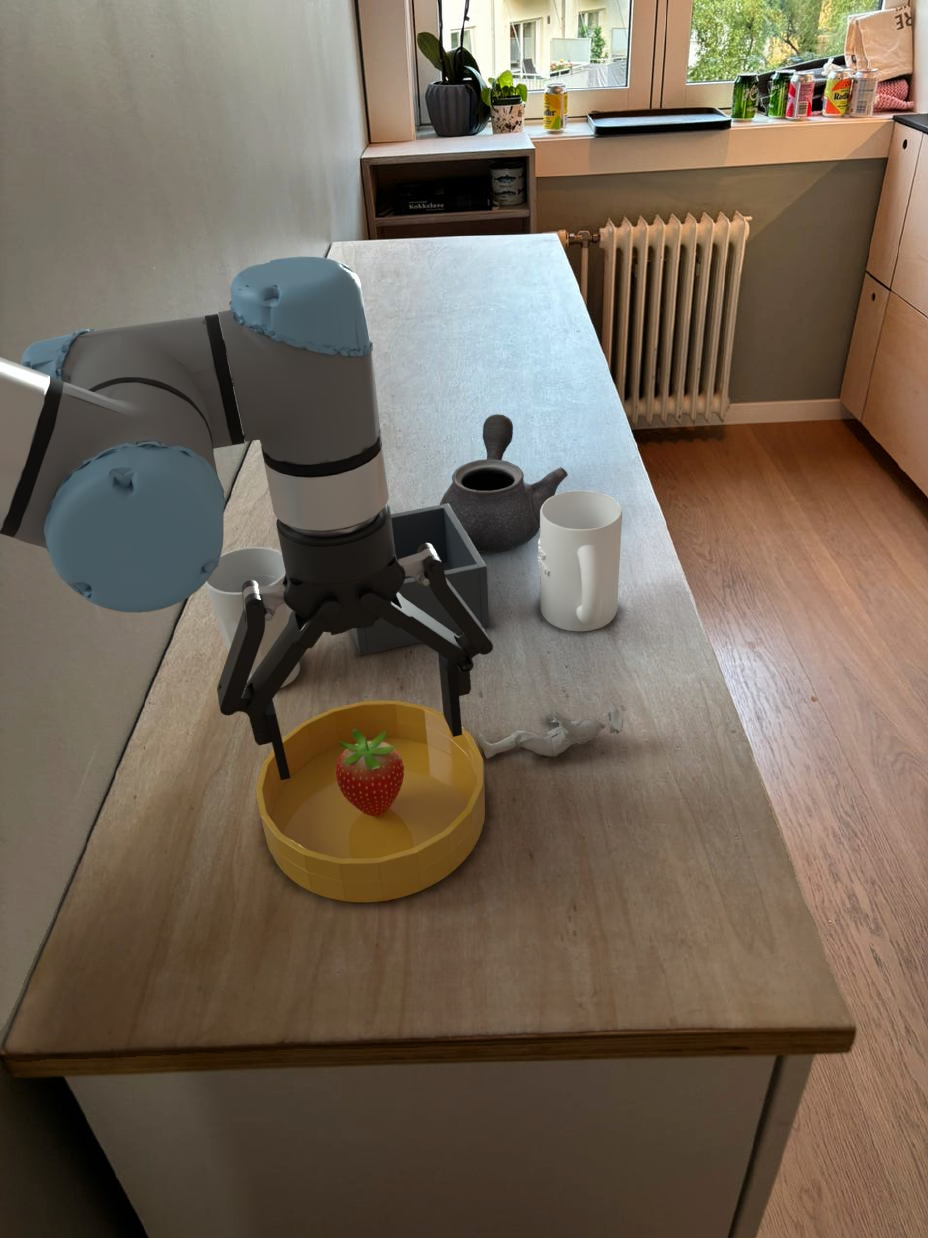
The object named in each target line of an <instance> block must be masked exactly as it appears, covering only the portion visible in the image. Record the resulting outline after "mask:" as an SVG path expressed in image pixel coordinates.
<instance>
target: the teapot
mask: <svg viewBox="0 0 928 1238" xmlns="http://www.w3.org/2000/svg"><path fill="white" fill-rule="evenodd" d="M513 435H514V424H513V421H512V420H511V418H509V417H508V416H506V415H505V414H500V413H499V414H498V413H495V414H491V415H489V416H488V417H486V418H485V420H484V422H483V424H482V440H483V444H484V447H485V450H486V459H478V460H472V461H470V462H467V463H465V464H462V465H460V466H459V467H458V468H456V469H455V470H454V471H453V473H452V476H451V481H452V483H451V484H450V485H449V486H448V488H447V489H446V491H445V493H444V494H443V496H442V498H441V500H440V502H439V505H442V504H449V505H450V507H451V509H452V510H453V512H454V514H455V515H456V517H457V518H458V520H459V522H460V523H461V525H462V527H463V528H464V530H465V532H466V533H467V535H468V537H469V538H470V540H471V541H472V543H473V545H474V546H475V548H476V550H477V551H478V553H479V552H480V553H492V552H493V553H494V552H503V551H504V552H505V551H507V550H511V549H515V548H518V547H521V546H523V545H525V544H527V543H528V542H529V541H531V540H532V539H533V538H534V537H535V536H536V535H537V534H538V532H540V510H541V507H542V505H543V504H544V502H545V501H546V500H547V499H549V498H550V497H552V496H554V495H556V493H557V490H558V487H559V485H560V484H561V483H562V482H563V481H564V480H565V479H566V478H567V477H569V474H568V471H567V470H565V469H564V468H563V467H561V466H559V467H558V468H555V469H553V470H552V471H550V472H549V473H548V474H546V475H545V476H544V477H542V478H541V479H540V480H539V481H536V482H533V483H527V482H525V480H524V479H525V473H524V472H523V470H522V468H520V467H519V466H518V465H516V464H514V463H512V462H510V461H507V460H503V456H504V454H505V452H506V451H507V449H508V447H509V446H510V445H511V443H512V441H513Z"/></svg>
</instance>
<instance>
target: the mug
mask: <svg viewBox="0 0 928 1238" xmlns="http://www.w3.org/2000/svg"><path fill="white" fill-rule="evenodd" d="M622 523H623V509H622V506H621V505H620V503H619V502H618V501H617V500H616V499H615V498H613V497H612V496H611V495H607V494H605V493H602V492H598V491H595V490H585V489H584V490H583V489H581V490H580V489H579V490H577V489H575V490H567V491H563V492H559V493H557V494H555V495H554V496H552V497H550V498H549V499H547V500H546V501H545V502H544V504H543V505H542V507H541V510H540V529H539V538H538V541H537V567H538V568H539V585H540V588H539V590H540V592H539V593H540V595H539V596H540V597H539V598H540V599H539V600H540V601H539V602H540V606H539V608H540V613H541V615H542V616H543V618H544V619H545V620H546V622H548V623H549V624H550V625H552V626H554V627H556V628H558V629H561V630H564V631H569V632H588V631H589V632H590V631H591V632H592V631H595V630H598V629H601V628H603V627H605V626H607V625H608V624H610V623H611V622H612V621H613V620H614V619H615V616H616V615H617V612H618V598H619V583H620V581H619V580H620V562H621V546H622V545H621V543H622V526H623V524H622Z"/></svg>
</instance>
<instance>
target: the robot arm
mask: <svg viewBox="0 0 928 1238" xmlns="http://www.w3.org/2000/svg"><path fill="white" fill-rule="evenodd" d="M235 275H236V276H235V277H234V278H233V279H232V281H231V283H230V299H231V300H230V301H229V308H230V309H228V310H227V309H226V310H222V311H218V313H214V314H206V315H200V316H192V317H185V318H184V317H183V318H178V319H169V320H162V321H155V322H148V323H140V324H133V325H127V326H117V327H111V328H103V329H96V328H82V329H79V330H77V331H74V332H73V333H70V334H66V335H61V336H57V337H52V338H48V339H42V340H38V341H35V342H33V343H31V344H30V345H29V346H28V347H27V348H26V349H25V350H24V352H23V354H22V357H21V359H20V363H17V362H15V361H12V360H9V359H6V358H4V357H1V356H0V535H2V536H6V537H9V538H13V539H15V540H18V541H21V542H23V543H26V544H29V545H34V546H37V547H41V548H44V549H46V551H47V552H48V554H49V558H50V562H51V563H52V566H53V567H54V570H55V572H56V573H57V574H58V576H59V578H60V579H61V580H62V581H63V582H64V583H65V584H67V585H68V586H69V587H70V588H71V589H72V590H73V591H74V592H76V593H77V594H79V595H80V596H81V597H83V598H84V599H85V600H86V601H87V602H89V603H91V604H93V605H95V606H98V607H101V608H104V609H106V610H111V611H115V612H122V613H130V614H131V613H133V614H134V613H138V614H139V613H150V612H155V611H160V610H163V609H167V608H170V607H172V606H173V607H174V606H175V605H177V604H180V603H182V602H183V601H185V600H187V599H188V598H190V597H192V596H193V595H194V594H196V593H197V592H198V591H199V590H200V589H201V588H202V587H203V586H204V584H205V583H206V581H207V580H208V579H209V577H210V576H211V574H212V573H213V571H214V569H215V568H216V567H217V566H218V563H219V559H220V556H221V555H222V552H223V546H224V535H225V533H224V529H225V527H224V523H225V522H224V520H225V519H224V518H225V517H224V515H225V514H224V510H225V507H226V499H225V489H224V487H223V484H222V481H221V480H220V478H219V477H220V476H219V474H218V469H217V464H216V458H215V454H214V452H215V451H214V450H215V449H220V448H226V447H232V446H237V445H244V444H246V443H247V442H248V443H249V442H254V441H259V442H260V448H261V453H262V459H263V464H264V469H265V474H266V480H267V485H268V490H269V495H270V500H271V505H272V511H273V514H274V516H275V517H276V531H277V535H278V540H279V546H280V552H282V557H283V562H284V567H285V578H284V580H283V583H282V584H280V585H271V586H262V587H259V584H258V583H257V582H256V581H254V580H248V581H246V582H244V583H243V585H242V598H243V612H242V615H241V618H240V621H239V624H238V627H237V630H236V633H235V636H234V639H233V642H232V645H231V648H230V651H229V654H228V653H227V656H226V660H225V663H224V665H223V669H222V672H221V675H220V678H219V681H218V684H217V687H216V692H217V698H218V706H219V711H220V713H221V714H222V715H223V716H232V715H234V714H235V713H238V712H239V713H245V714H246V715H247V716H248V718H249V722H250V727H251V729H252V735H253V739H254V742H255V743H256V744H257V745H258V746H263V745H267V744H271V745H272V750H273V749H274V754H275V758H276V762H277V766H278V771H279V775H280V779H281V780H285V779H289V778H291V777H290V773H289V768H288V764H287V760H286V755H285V751H284V746H283V742H282V738H283V737H282V734H281V729H280V725H279V720H278V715H277V712H276V708H275V703H274V697H275V696H276V695H277V693H278V692H279V691H280V689H282V688H281V686H282V685H283V683H284V682H285V681H286V679H287V678H288V676H289V675H290V673H291V672H292V671H293V669H294V668H295V666H296V665H297V663H298V662H299V663H300V661H301V659H302V658H303V656H304V655H305V654H306V652H307V650H309V649H311V650H312V648H314V647H315V645H316V644H317V642H318V641H319V639H320V638H321V636H322V635H323V634H324V633H330V636H335V635H340V634H341V635H342V634H344V633H346V632H348V631H351V629H353V628H368V627H372V626H374V623H375V622H376V621H378V620H379V619H381V618H383V619H384V620H386V621H387V622H389V623H390V624H392V625H393V626H395V627H396V628H398V629H399V628H402V629H403V630H405V631H406V632H408V633H409V634H411V635H412V636H414V637H415V638H417V639H418V640H420V641H421V642H420V643H423V644H424V645H426V647H428V648H430V649H431V650H433V651H434V652H436V653H437V660H438V669H439V680H440V691H441V702H442V714H444V717H445V720H446V722H447V724H448V726H449V729H450V731H451V733H452V736H453V737H455V736H459V735H462V727H463V726H462V714H461V713H462V711H461V700H460V697H462V696H466V695H467V696H468V695H470V693H471V691H472V683H471V681H472V680H471V671H472V670H473V669H474V666H475V664H474V661H473V660H472V659H474V657H476V656H478V655H482V656H484V655H488V654H490V653H491V652H492V651H493V649H494V644H493V642H492V640H491V638H490V637H489V635H488V633H487V632H486V630H485V628H483V626H482V625H481V623H480V622H479V621H478V619H477V618H476V617H475V615H474V614H473V613H472V611H471V610H470V609H469V607H468V606H467V605H466V603H465V602H464V601H463V599H462V598H461V597H460V595H459V594H458V593H457V591H456V590H455V589H454V587H453V586H452V585H451V583H450V582H449V581H448V579H447V578H446V576H445V572H444V567H443V564H442V562H441V560H440V558H439V556H438V554H437V553H436V551H435V549H434V547H433V545H431V544H430V543H424V544H422V545H420V547H419V548H418V553H417V554H414V555H411V556H408V557H405V558H401V559H398V558H397V557H396V554H395V546H394V537H393V529H392V520H391V514H392V512H391V507H390V505H389V503H388V501H389V495H390V494H389V487H388V477H387V472H386V471H387V469H386V463H385V455H384V448H383V441H382V433H381V424H380V414H379V413H380V412H379V404H378V395H377V384H376V377H375V375H376V374H375V367H374V366H375V365H374V355H373V351H374V342H373V341H372V340H371V339H372V338H371V336H370V331H369V324H368V319H367V313H366V307H365V301H364V295H363V289H362V284H361V280H360V278H359V276H358V275H357V274H356V273H355V272H354V271H353V270H352V269H351V268H350V267H349V266H348V265H347V264H345V263H342V262H340V261H338V260H336V259H331V258H327V257H322V256H292V257H282V258H275V259H271V260H269V262H265V263H258V264H253V265H251V266H248V267H247V268H244V269H243V270H241V271H239V272H238V273H237V274H235ZM408 576H409V577H413V578H414V579H415V580H416V581H417V583H419V584H423V585H424V586H428V585H429V586H430V588H431V590H432V592H433V594H434V595H435V597H436V598H437V599H438V601H439V602H440V603H441V605H442V606H443V607H444V608H445V610H446V611H447V612H448V614H449V615H450V616H451V617H452V619H453V620H454V621H455V623H456V624H457V625H458V626H459V628H460V629H461V630H462V632H463V633H462V635H460V636H459V635H458V634H455V633H453V632H452V631H450V630H449V629H447V628H446V627H445V626H443V625H442V624H440V623H439V622H437V621H436V620H435V619H433V618H432V617H430V616H429V615H427V614H426V613H425V612H423V611H422V610H420V609H419V608H417V607H416V606H415V605H413V604H412V603H410V602H409V601H407V600H406V599H405V598H403V597H402V596H401V594H400V593H399V592H398V591H399V589H400V588H401V586H402V585H403V583H404V581H405V577H408ZM284 603H286V605H287V606H288V607H289V608H290V609H292V610H293V611H292V613H291V614H290V616H289V620H288V624H287V625H286V627H285V628H284V630H283V631H282V633H281V634H280V636H279V637H278V638H277V640H276V641H275V643H274V644H273V646H272V647H271V649H270V650H269V652H268V653H267V655H266V656H265V657H264V659H263V660H262V662H261V663H260V665H259V666H258V668H257V669H256V671H255V672H254V674H253V675H252V676H251V678H250V679H249V681H248V678H249V675H250V672H251V669H252V667H253V664H254V661H255V658H256V655H257V652H258V650H259V647H260V644H261V641H262V638H263V635H264V631H265V620H266V621H269V620H271V619H272V616H273V615H274V614H275V611H276V608H277V607H278V606H279V605H281V604H284ZM247 681H248V682H247Z"/></svg>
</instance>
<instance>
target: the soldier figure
mask: <svg viewBox="0 0 928 1238" xmlns="http://www.w3.org/2000/svg"><path fill="white" fill-rule="evenodd" d="M545 712H547V713H545V715H546V716H547V717H552V719H553V720H550V721H549V723H558V726H557V727H554V728H553V729H550V730H548V731H546V734H547V736H545V737H543V736H542V735H540V734H539V733H536V732H531V731H527V730H523V729H518V730H517V731H515V732H512V733H511V734H510V735H508V736H507V737H505V738H503V739H501V740H500V741H497V742H494V743H490V742H489V741H487V740H486V736H485V735H481V734H478V737H477V738H478V739H477V740H478V743H479V746H480V747H481V748H482V750H483V753H484V756H485V758H486V759H487V760H488V759H490V758H492V757H494V756H496V754H498V753H499V754H500V753H502V752H506V751H508V750H511V749H513V748H515V747H516V746H520V747H522V748H524V749H527V750H529V751H531V752H533V753H535V754H537V755H541V756H545V757H554V758H555V757H557V756H558V755H560V754H561V753H563V752H565V751H566V750H567V749H568V748H569V747H570V746H571V745H581V744H586V743H587V742H589V741H595V738H597V737H598V736H599V734H600V732H601V731H602V730H604V728H605V729H606V730H607V731H608V733H609V734H612V735H613V734H614V735H615V734H617V735H619V734H620V733H622V731H623V725H624V719H623V717H622V715H621V714H622V713H620V711H619V709H618V708H617V706H616V705H614V704H613V702H610V704H609V712H605V713H603V714H602V717H603V721H604V723H603V722H601V720H599V719H598V717H595V716H592V717H590V718H587V717H584V718H579V719H576V720H572V721H569V720H568V719H567V718H566V717H563V715H562V714H561V713H559V712H558V711H557V710H555V709H554V708H553V707H547V708H546V710H545ZM607 718H608V721H609V722H608V726H609V729H607V727H606V726H605V725H606V724H607V723H606V720H605V719H607Z"/></svg>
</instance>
